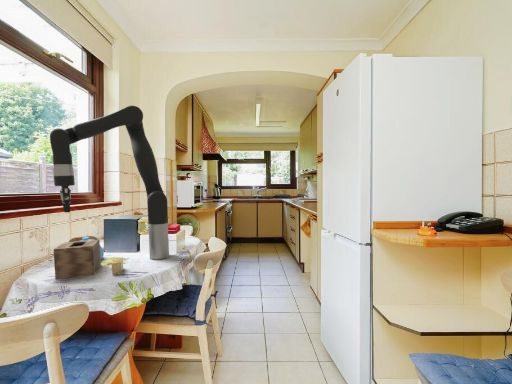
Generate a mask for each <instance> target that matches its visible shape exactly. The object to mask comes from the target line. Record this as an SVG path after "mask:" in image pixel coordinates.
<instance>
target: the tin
mask: <svg viewBox="0 0 512 384" xmlns="http://www.w3.org/2000/svg"><path fill="white" fill-rule="evenodd" d="M84 237H89V240H99V238H97V237H96V236H94V235H87V236H78V237H73V238H71V239H69V240H68V242H74V241H81V240H82V238H84Z"/></svg>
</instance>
